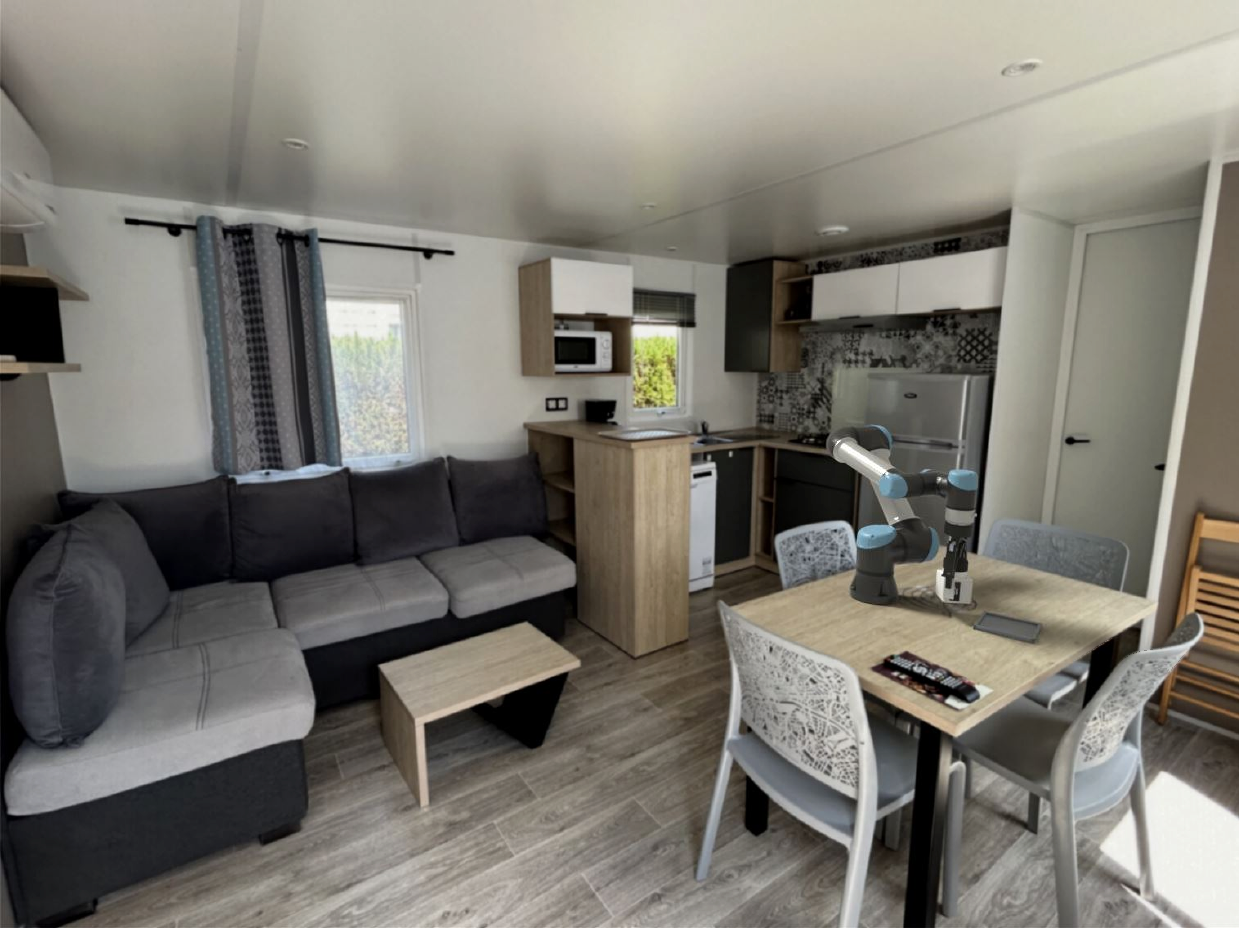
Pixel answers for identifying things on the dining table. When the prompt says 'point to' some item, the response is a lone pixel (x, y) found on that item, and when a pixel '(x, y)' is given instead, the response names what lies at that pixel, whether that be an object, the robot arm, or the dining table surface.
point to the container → (956, 583)
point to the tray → (1008, 627)
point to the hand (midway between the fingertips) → (953, 592)
